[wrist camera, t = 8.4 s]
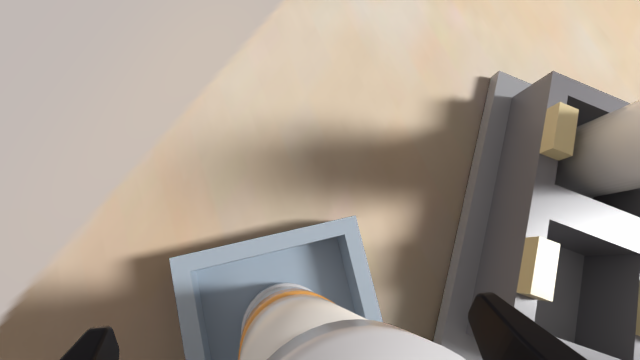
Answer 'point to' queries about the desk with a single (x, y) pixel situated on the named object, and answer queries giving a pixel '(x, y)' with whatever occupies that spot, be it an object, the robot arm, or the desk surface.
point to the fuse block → (544, 227)
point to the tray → (267, 281)
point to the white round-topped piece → (323, 331)
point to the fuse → (604, 155)
